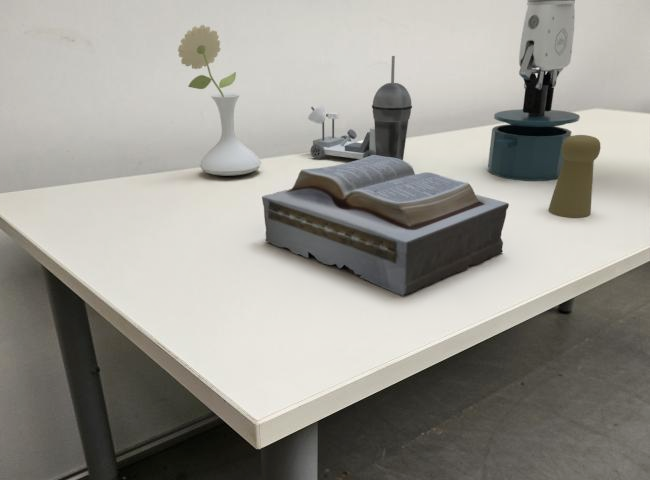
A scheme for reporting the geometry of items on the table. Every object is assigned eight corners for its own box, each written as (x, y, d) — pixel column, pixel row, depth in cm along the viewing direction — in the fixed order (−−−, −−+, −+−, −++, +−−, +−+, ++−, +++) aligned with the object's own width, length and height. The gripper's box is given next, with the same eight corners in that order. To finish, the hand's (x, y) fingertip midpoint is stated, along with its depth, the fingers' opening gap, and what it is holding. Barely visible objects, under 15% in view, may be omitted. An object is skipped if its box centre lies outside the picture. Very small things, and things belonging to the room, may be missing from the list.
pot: (584, 169, 116) (591, 128, 112) (531, 187, 104) (538, 142, 101) (520, 158, 124) (525, 120, 121) (465, 173, 113) (469, 132, 109)
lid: (593, 120, 110) (599, 83, 107) (552, 131, 101) (558, 91, 98) (520, 113, 119) (524, 79, 116) (477, 123, 110) (480, 86, 108)
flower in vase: (254, 164, 121) (246, 23, 109) (267, 177, 111) (260, 24, 100) (188, 169, 117) (172, 24, 106) (195, 183, 108) (178, 25, 96)
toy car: (298, 107, 122) (329, 100, 131) (299, 156, 127) (330, 147, 135) (377, 114, 113) (405, 106, 122) (375, 167, 118) (402, 156, 126)
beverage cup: (410, 167, 117) (416, 54, 108) (406, 176, 111) (413, 57, 102) (372, 166, 119) (376, 54, 110) (367, 174, 112) (370, 56, 103)
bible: (388, 207, 94) (391, 141, 89) (526, 261, 73) (539, 179, 69) (251, 235, 83) (247, 161, 78) (370, 307, 62) (373, 213, 58)
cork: (587, 206, 94) (602, 132, 89) (593, 218, 88) (609, 140, 83) (546, 204, 95) (558, 131, 90) (550, 215, 90) (562, 139, 85)
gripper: (547, -6, 93) (531, 119, 102) (596, -6, 103) (578, 108, 112) (504, -4, 98) (492, 115, 107) (555, -5, 108) (541, 105, 117)
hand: (536, 110), depth 109 cm, fingers closed on lid, 2 cm apart
